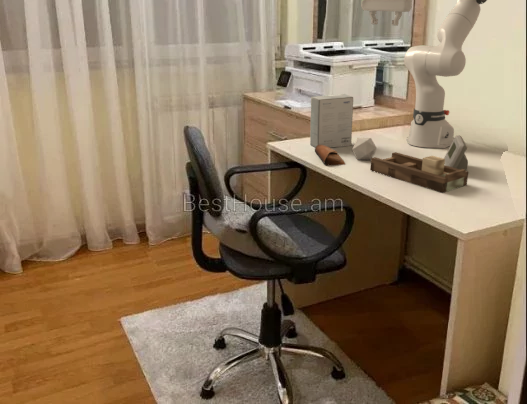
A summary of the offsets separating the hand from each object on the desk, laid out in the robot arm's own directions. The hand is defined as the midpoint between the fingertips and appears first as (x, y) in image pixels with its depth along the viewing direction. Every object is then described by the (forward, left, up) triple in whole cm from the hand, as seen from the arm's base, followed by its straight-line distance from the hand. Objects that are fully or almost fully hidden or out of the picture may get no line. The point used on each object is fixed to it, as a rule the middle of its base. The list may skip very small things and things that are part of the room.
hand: (384, 24), depth 203 cm
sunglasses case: (+16, -8, -49) cm, 52 cm away
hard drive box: (+2, -22, -48) cm, 53 cm away
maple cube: (+9, +33, -45) cm, 56 cm away
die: (+6, 0, -48) cm, 49 cm away
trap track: (+9, +27, -48) cm, 56 cm away
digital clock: (-10, +28, -48) cm, 57 cm away
